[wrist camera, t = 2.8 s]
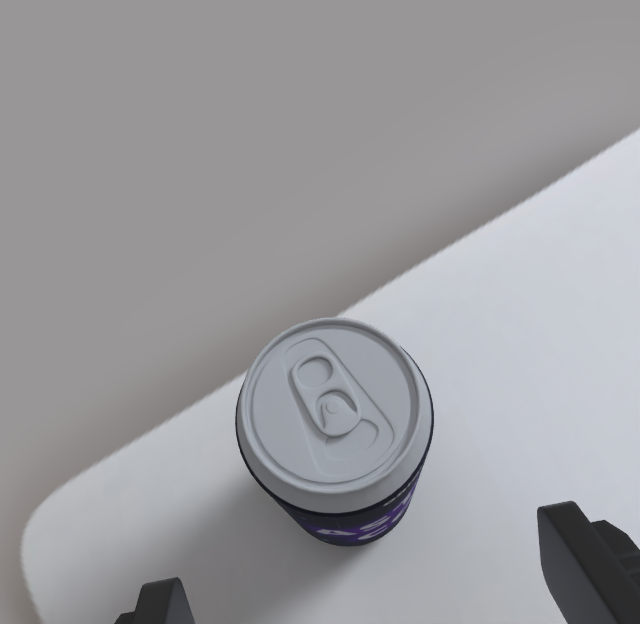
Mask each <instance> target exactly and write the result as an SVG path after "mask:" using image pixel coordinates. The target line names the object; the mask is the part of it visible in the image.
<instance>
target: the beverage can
mask: <svg viewBox="0 0 640 624" xmlns="http://www.w3.org/2000/svg"><path fill="white" fill-rule="evenodd" d="M235 425H236V436H237V441H238V446H239V449H240V452H241V455H242V457H243V460H244V462H245V464H246V466H247V468H248V469H249V471H250V473H251V474H252V476H253V477H254V478H255V480H256V481H257V482H258V483H259V485H260V486H261V487H262V488H263V489H264V490H265V491H266V492H267V493H268V494H269V495H270V496H271V497H272V498H273V499H274V500H275V501H276V502H277V503H278V504H279V505H280V506H281V507H282V508H283V509H284V510H285V511H286V512H287V513H288V514H289V515H290V516H291V517H292V518H293V519H294V520H295V521H296V522H297V523H298V524H299V525H300V526H301V527H302V528H303V529H304V530H306V531H307V532H308V533H309V534H311V535H312V536H314V537H316V538H317V539H319V540H321V541H324V542H326V543H329V544H333V545H338V546H359V545H364V544H367V543H370V542H373V541H375V540H377V539H379V538H381V537H383V536H384V535H386V534H387V533H388V532H390V531H391V530H392V529H393V528H394V527H395V526H396V525H397V524H398V523H399V521H400V520H401V519H402V517H403V516H404V514H405V512H406V510H407V508H408V506H409V504H410V501H411V498H412V495H413V493H414V490H415V487H416V484H417V481H418V479H419V476H420V473H421V470H422V467H423V465H424V462H425V459H426V456H427V453H428V451H429V447H430V444H431V440H432V435H433V427H434V410H433V403H432V398H431V394H430V390H429V387H428V385H427V382H426V380H425V378H424V376H423V374H422V372H421V370H420V369H419V367H418V366H417V364H416V363H415V361H414V360H413V359H412V358H411V356H410V355H409V354H408V353H407V352H406V351H405V350H404V349H403V348H401V347H400V346H399V345H398V344H397V343H396V342H395V341H394V340H393V339H392V338H390V337H389V336H388V335H386V334H385V333H384V332H382V331H380V330H378V329H377V328H375V327H373V326H371V325H368V324H366V323H363V322H360V321H356V320H352V319H347V318H335V317H331V318H319V319H315V320H310V321H306V322H303V323H300V324H297V325H295V326H293V327H291V328H289V329H287V330H285V331H283V332H282V333H280V334H279V335H278V336H276V337H275V338H274V339H272V340H271V341H270V342H269V343H268V344H267V345H266V346H265V347H264V348H263V349H262V350H261V352H260V353H259V354H258V356H257V357H256V358H255V360H254V361H253V363H252V365H251V367H250V369H249V371H248V373H247V375H246V378H245V381H244V383H243V385H242V388H241V391H240V394H239V397H238V401H237V407H236V417H235Z"/></svg>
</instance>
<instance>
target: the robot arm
mask: <svg viewBox="0 0 640 624" xmlns="http://www.w3.org/2000/svg"><path fill="white" fill-rule="evenodd" d="M537 520H538V532H539V545H540V558H541V566H542V571H543V575H544V578H545V581H546V584H547V586H548V588H549V591H550V593H551V595H552V596H553V598H554V600H555V602H556V604H557V605H558V607H559V609H560V611H561V613H562V614H563V616H564V618H565V620H566V621H567V623H568V624H640V550H639V548H638V547H637V546H636V545H635V543H634V542H633V541H632V540H631V539H630V537H629V536H628V535H627V534H626V533H624V532H623V531H621V530H620V529H618V528H616V527H615V526H613V525H612V524H610V523H609V522H607V521H605V520H601V521H596V522H591V523H590V521H589V520H588V519H587V517H586V516H585V515H584V513H583V512H582V511H581V509H580V508H579V507H578V505H577V504H576V503H575V502H573V501H567V502H562V503H557V504H552V505H547V506H542V507H539V508H538V510H537ZM114 624H195V622H194V619H193V616H192V613H191V609H190V606H189V603H188V600H187V597H186V594H185V591H184V588H183V585H182V582H181V580H180V579H179V578H178V577H176V578H171V579H166V580H161V581H156V582H151V583H146V584H144V585H143V586H142V588H141V591H140V594H139V598H138V602H137V605H136V609H135V611H134V612H129V613H124V614H121V615H120V616H119V618H118V619H117V620H116V622H115V623H114Z"/></svg>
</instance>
